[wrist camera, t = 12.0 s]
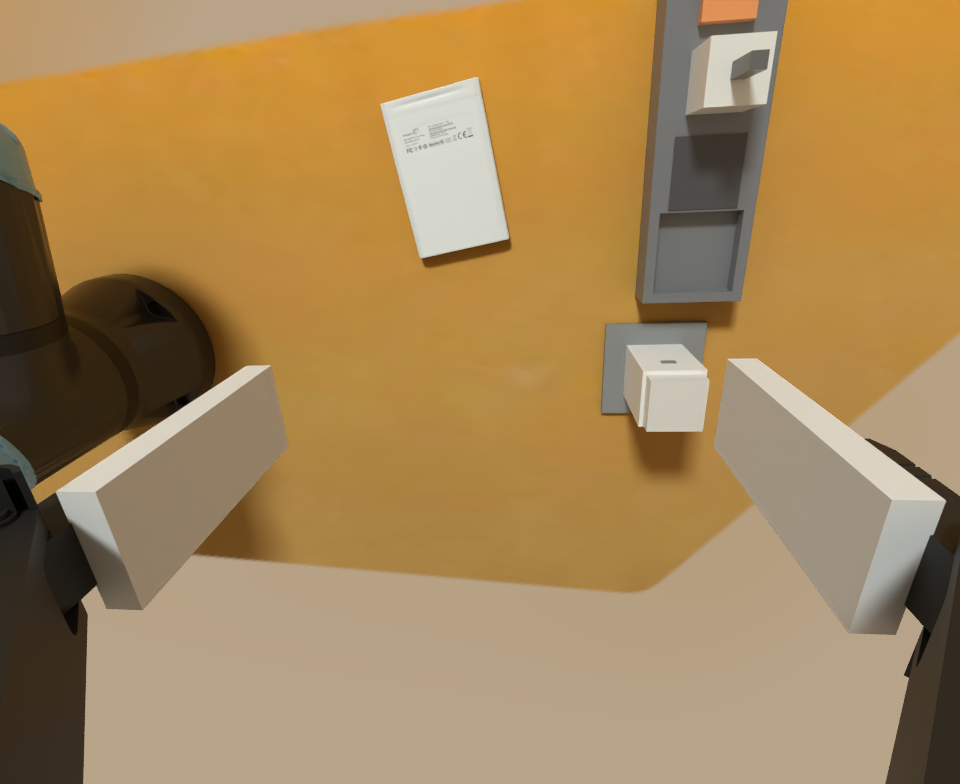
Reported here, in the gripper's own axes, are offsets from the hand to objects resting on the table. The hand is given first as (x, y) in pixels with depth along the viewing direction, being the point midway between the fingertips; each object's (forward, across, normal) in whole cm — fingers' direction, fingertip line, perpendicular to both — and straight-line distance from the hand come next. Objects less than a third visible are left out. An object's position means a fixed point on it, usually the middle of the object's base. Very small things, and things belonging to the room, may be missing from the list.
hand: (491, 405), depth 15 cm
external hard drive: (+33, -5, +7) cm, 35 cm away
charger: (+32, +13, -11) cm, 36 cm away
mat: (+33, +13, -11) cm, 37 cm away
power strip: (+33, +15, +11) cm, 38 cm away
